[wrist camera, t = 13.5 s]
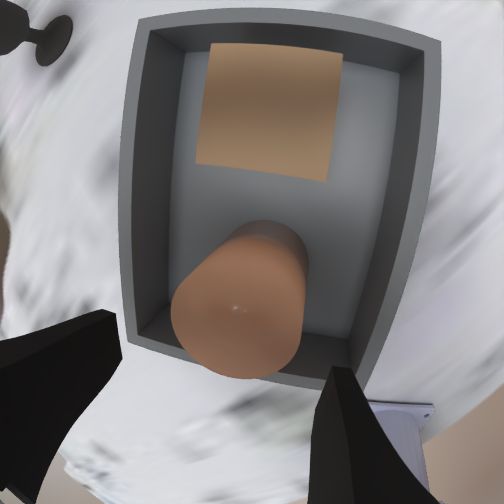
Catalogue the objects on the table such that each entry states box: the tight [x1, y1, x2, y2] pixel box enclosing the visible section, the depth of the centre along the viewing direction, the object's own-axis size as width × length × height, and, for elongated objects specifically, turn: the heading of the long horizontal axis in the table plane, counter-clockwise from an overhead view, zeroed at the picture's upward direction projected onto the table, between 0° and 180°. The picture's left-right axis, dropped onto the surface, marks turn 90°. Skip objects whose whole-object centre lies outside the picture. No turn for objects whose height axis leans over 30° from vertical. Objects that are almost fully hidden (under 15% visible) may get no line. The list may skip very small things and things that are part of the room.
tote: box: [118, 8, 441, 391], centre depth 14 cm, size 18×14×5 cm
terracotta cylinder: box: [171, 220, 309, 379], centre depth 14 cm, size 5×5×7 cm
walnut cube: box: [195, 43, 343, 182], centre depth 12 cm, size 5×5×5 cm
